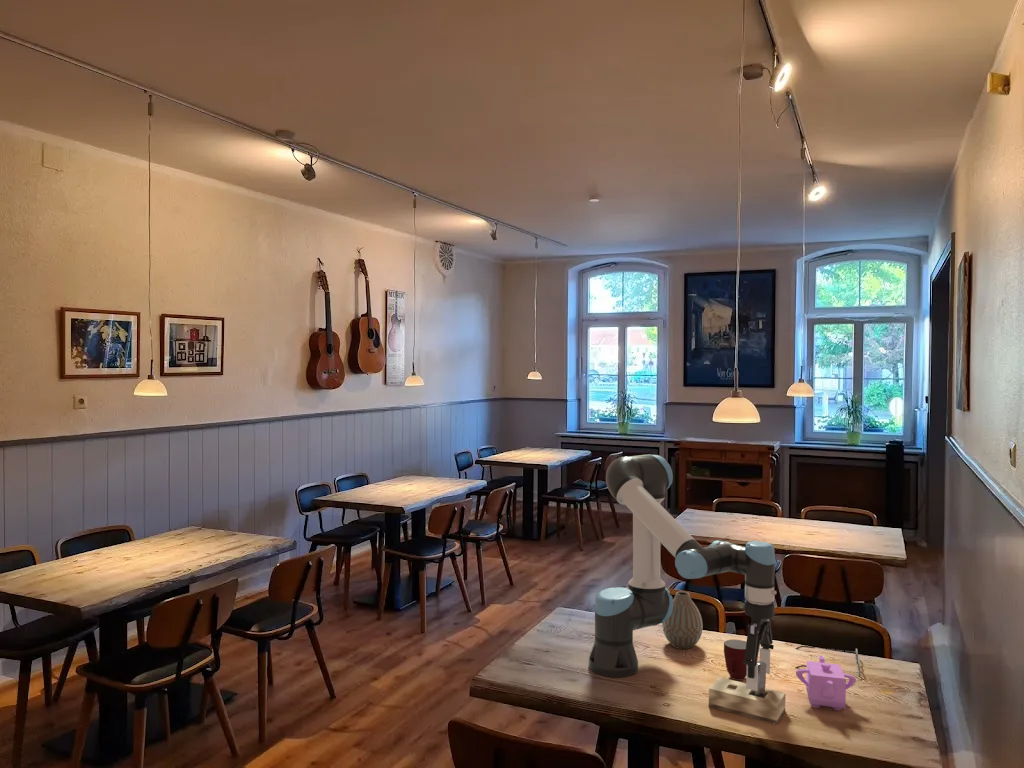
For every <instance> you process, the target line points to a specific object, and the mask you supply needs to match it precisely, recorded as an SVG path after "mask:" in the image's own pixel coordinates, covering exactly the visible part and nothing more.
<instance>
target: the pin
mask: <svg viewBox="0 0 1024 768" xmlns="http://www.w3.org/2000/svg"><path fill="white" fill-rule="evenodd" d="M757 665H758V690H757V691H755V690H752V695H753V696H757V697H761V698H765V688H766V683H767V673H766V663H764V662H760V661H758V660H757Z"/></svg>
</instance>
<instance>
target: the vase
mask: <svg viewBox="0 0 1024 768" xmlns="http://www.w3.org/2000/svg"><path fill="white" fill-rule="evenodd" d="M690 594H691V593H690V592H687V591H683V590H682V591H680V590H679V591H677V592H675V596H674V597H673V598H672V599H673V610H672V613H671V616H670V617H669V618H668V619H667V620H666V621H665V622H663V623H661V624H662V633H664V634H663V635H664V637H665V638H666V640H667V641H668V643H670V644H671V646H673V647H675V648H676V649H684V650H685V649H686V650H687V649H688V650H689V649H691V648H693V647H694V646H695V645H696V644H697V643H698V642H699V641H700V639H701V637H702V634H703V630H704V629H703V626H704V624H703V618H702V615H701V613H700V612H701V611H700V610H699V608H698V607H697V605H696V603H694V601H693V600H692V598H691V596H690Z"/></svg>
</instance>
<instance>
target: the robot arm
mask: <svg viewBox="0 0 1024 768" xmlns="http://www.w3.org/2000/svg"><path fill="white" fill-rule="evenodd" d="M673 479H674V476H673V470H672V467H671V465H670V464H669V462H667V460H666V458H664V457H663V456H661V455H658V454H641V455H640V454H638V455H631V456H620V457H617V458H616V459H614V460H613V461H612V462H611V463H610V464H609V466H608V467H607V470H606V472H605V483H606V487H607V489H608V491H609V493H610V494H611V496H612V497H613V499H615V500H616V502H617V503H619V505H623V506H624V505H625V506H626V507H627V508H628V509H629V510H630V511H631V512H632V577H631V578H630V580H628V585H627V587H621V586H617V587H608V588H604V589H602V590H600V591H599V592H598V593H597V595H596V596H595V604H594V607H593V608H594V641H593V646H592V648H591V650H590V653H589V656H588V668H589V670H591V671H592V672H594V673H596V674H597V675H602V676H604V677H613V678H623V677H629V676H632V675H634V674H636V673H637V672H638V671H639V659H638V657H637V652H636V650H635V646H634V644H633V643H634V641H633V640H634V639H633V638H634V633H633V632H634V631H637V630H640V629H645V628H648V627H654V626H658V625H660V624H662V623H663V622H665V621H666V620H667V619H668V618H669V617H670V616H671V613H672V610H673V599H674V598H673V596H672V595H671V591H670V590H669V589H668V588H667V587H666V583H665V581H664V580H663V579H662V578H661V544H662V545H663V547H665V549H666V550H667V552H669V553H670V554H671V555H672V556H673V557H674V558H675V560H674V564H675V565H674V566H675V568H676V570H677V573H678V574H679V576H681V578H684V579H687V580H695V579H702V578H704V577H709V576H713V575H718V574H723V573H727V572H731V573H736V574H740V575H743V576H744V599H745V600H744V614H745V615H746V616H748V617H750V619H751V622H749V624H748V625H747V635H746V651H745V659H744V661H743V664H746V665H747V670H746V677H745V679H746V681H745V682H746V688H747V689H751V690H755V691H757V690H758V665H757V661H758V659H759V661H760V662H764V663H766V675H770V674H771V650H774V647H775V646H774V644H773V642H774V641H773V635H772V634H773V633H772V624H771V619H773V618H774V617H775V603H774V602H775V596H776V595H777V590H775V574H776V573H775V572H776V570H775V569H776V561H777V560H776V556H775V555H776V554H775V547H774V545H773V544H771V543H770V542H766V541H760V540H758V541H757V540H752V541H748V542H746V544H745V546H744V545H739V544H737V543H734V542H733V543H732V542H730V541H725V540H719V539H717V540H714V541H713V542H711V544H709V545H708V546H704V547H703V546H702V545H701V544H700V543H699V542H698V541H697V540H696V538H694V537H693V536H692V535H691V534H690V533H689V532H688V531H687V530H686V529H685V527H683V526H682V525H681V524H680V523H679V522H678V521H677V520H676V519H675V517H673V516H672V514H670V512H668V511H667V510H666V508H664V507H663V506H662V504H661V503H662V502H663V501H664V500H665V498H666V491H667V490H668V489H669V488H670V487H671V485H672V484H673V481H674V480H673Z"/></svg>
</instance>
